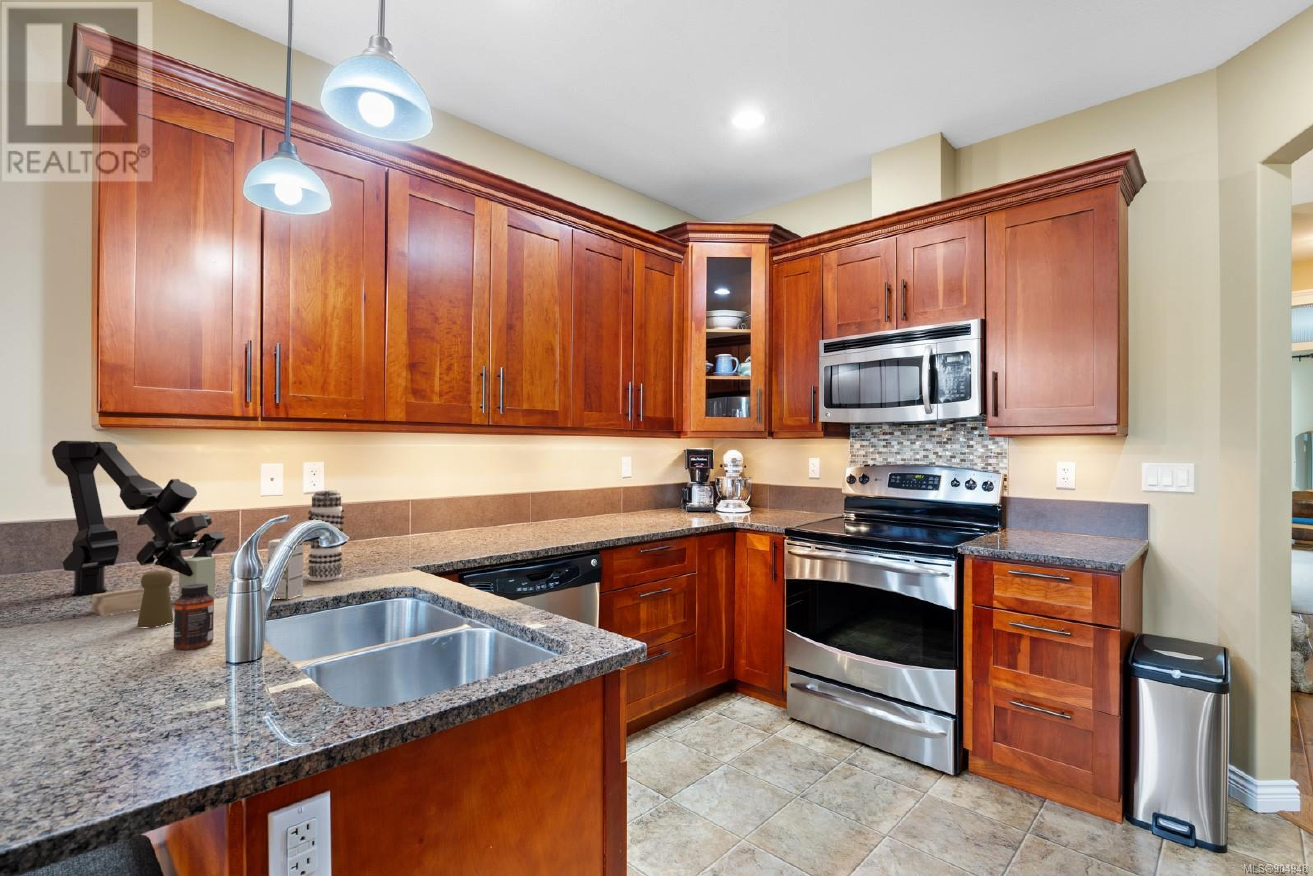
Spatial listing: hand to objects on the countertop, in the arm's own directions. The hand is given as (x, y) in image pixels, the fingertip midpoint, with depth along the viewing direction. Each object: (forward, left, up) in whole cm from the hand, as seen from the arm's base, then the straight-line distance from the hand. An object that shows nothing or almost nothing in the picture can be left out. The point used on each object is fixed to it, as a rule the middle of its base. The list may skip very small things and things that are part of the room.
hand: (202, 573), depth 150 cm
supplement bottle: (+42, -8, -7) cm, 43 cm away
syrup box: (+11, +15, -7) cm, 20 cm away
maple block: (-1, -15, -7) cm, 16 cm away
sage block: (-1, -1, -7) cm, 7 cm away
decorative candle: (-8, +30, -7) cm, 32 cm away
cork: (+19, -11, -7) cm, 23 cm away
